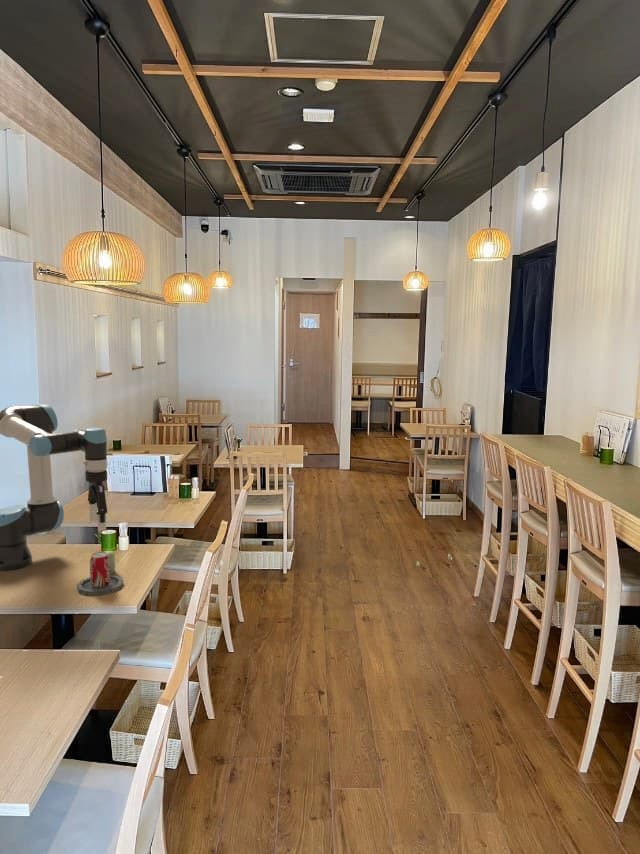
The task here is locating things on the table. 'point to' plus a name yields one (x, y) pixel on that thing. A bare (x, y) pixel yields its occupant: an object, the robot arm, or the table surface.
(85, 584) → the saucer
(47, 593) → the table surface
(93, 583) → the soda can
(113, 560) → the tea canister
